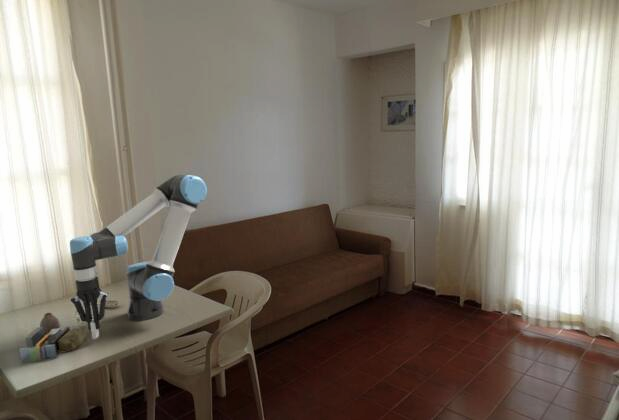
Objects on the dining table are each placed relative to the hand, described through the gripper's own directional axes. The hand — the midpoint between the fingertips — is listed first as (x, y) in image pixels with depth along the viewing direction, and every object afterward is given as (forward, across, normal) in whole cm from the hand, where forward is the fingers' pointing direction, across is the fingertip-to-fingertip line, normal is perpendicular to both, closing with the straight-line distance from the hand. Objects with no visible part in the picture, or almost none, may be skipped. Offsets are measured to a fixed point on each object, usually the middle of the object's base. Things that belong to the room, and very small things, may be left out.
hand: (95, 337), depth 164 cm
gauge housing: (+2, +16, +3) cm, 17 cm away
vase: (+2, +22, -14) cm, 26 cm away
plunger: (+2, +14, +2) cm, 14 cm away
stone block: (+3, +9, 0) cm, 9 cm away
